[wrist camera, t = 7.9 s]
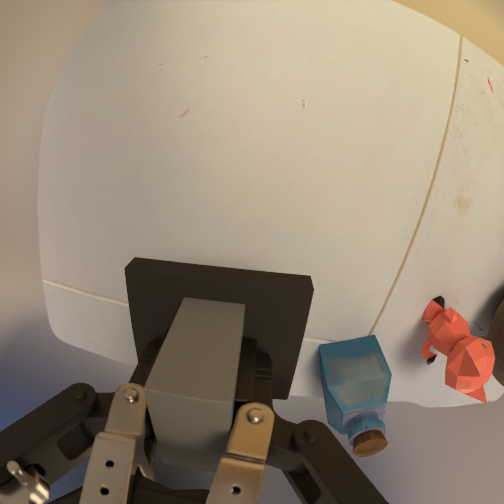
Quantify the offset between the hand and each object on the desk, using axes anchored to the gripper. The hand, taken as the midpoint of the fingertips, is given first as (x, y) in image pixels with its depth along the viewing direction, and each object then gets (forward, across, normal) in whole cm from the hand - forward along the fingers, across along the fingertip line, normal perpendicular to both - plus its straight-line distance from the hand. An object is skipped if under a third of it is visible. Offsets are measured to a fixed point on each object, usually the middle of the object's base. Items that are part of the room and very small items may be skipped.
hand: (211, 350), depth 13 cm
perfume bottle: (+15, -13, +13) cm, 24 cm away
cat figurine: (+15, -22, +7) cm, 28 cm away
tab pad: (+2, 0, +2) cm, 2 cm away
